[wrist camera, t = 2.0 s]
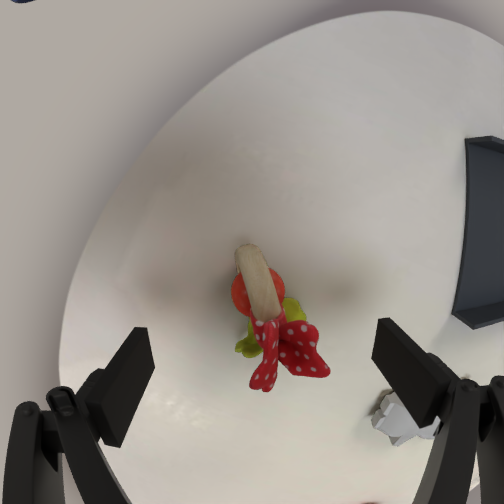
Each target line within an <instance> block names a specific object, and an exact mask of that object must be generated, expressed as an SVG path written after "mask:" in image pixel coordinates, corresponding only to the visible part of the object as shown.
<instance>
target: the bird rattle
mask: <svg viewBox="0 0 504 504" xmlns="http://www.w3.org/2000/svg"><path fill="white" fill-rule="evenodd" d="M235 260H236V266H237V272H238V275H237V276H236V278H235V279H234V281H233V284H232V288H231V295H232V300H233V303H234V305H235V307H236V308H237V309H238V310H239V311H240V312H241V313H242V314H244V315H245V316H248V317H249V319H250V321H249V323H248V336H247V337H246V338H244V339H243V340H241V341H239V342H237V344H236V347H235V352H242V354H243V355H244V357H247V358H253V357H256V356H257V355H259V354H260V353H262V352H263V353H264V354H263V361H262V362H261V364H260V365H259V366H258V368H257V369H256V370H255V372H254V373H253V375H252V377H251V380H250V383H249V387H250V388H251V389H254V390H259V389H261V388H262V391H263V392H269V391H270V390H271V389H272V388H273V386H274V383H275V381H276V378H277V367H278V360H279V361H280V362H281V363H282V364H283V365H284V366H285V367H286V368H287V369H288V370H289V372H290V373H291V374H292V375H297V376H307V377H317V378H323V377H327V376H328V375H329V374H330V368H329V367H328V365H327V364H326V363H325V362H324V360H323V359H322V358H321V356H320V355H319V354H318V353H317V351H316V345H317V343H318V339H319V333H318V330H317V329H316V327H315V326H313V325H311V324H309V323H308V322H306V315H305V313H304V312H303V311H302V310H301V308H300V305H299V302H298V301H297V300H295V299H293V298H284V295H285V287H284V283H283V281H282V279H281V278H280V276H279V275H278V274H277V273H276V272H275V271H274V270H272V269H271V268H268V266H267V263H266V261H265V259H264V257H263V255H262V253H261V251H260V250H259V248H258V247H257V246H255V245H253V244H246V245H243V246H240V247H238V248H237V249H236V251H235Z"/></svg>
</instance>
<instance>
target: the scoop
mask: <svg viewBox="0 0 504 504" xmlns="http://www.w3.org/2000/svg"><path fill="white" fill-rule="evenodd" d="M465 144H466V164H467V200H466V221H465V233H464V244H463V252H462V260H461V267H460V274H459V280H458V286H457V291H456V296H455V301H454V306H453V310H452V315H454V316H455V317H456V318H458V319H459V320H461V321H462V322H463V323H465V324H466V325H468V326H469V327H470V328H472V329H473V330H474V329H478V328H481V327H485V326H488V325H492V324H495V323H498V322H501V321H504V140H502V139H500V138H497V137H494V136H484V137H475V138H467V139H465Z"/></svg>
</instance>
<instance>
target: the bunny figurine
mask: <svg viewBox="0 0 504 504" xmlns="http://www.w3.org/2000/svg"><path fill="white" fill-rule="evenodd" d="M380 407H381V409H378V410H377V411H376V412H375V414H374V416H373V417H372V419H371V422H372V425H373V428H374V429H379V430H380V431H382V432H383V433H385V434H386V435H389V438H390V440H391V443H392V446H397V447H398V446H399V445H401V444H403V443H404V442H406V441H408V440H409V439H411V438H413V437H415V436H419V437H421V438H423V439H435V436H433V434H434V432H435V430H436V428H437V426H438V424H439V422H440V419H439V417H438V416H436V418H435V420H434V422H433V424H432V425H430V426H427V427H424V428H421V429H419V427H418V426H417V424H416V423H415V421H414V420H413V418H412V417H411V415H410V414H409V412H408V411H407V409H406V408H405V406H404V405H403V403H402V402H401V400H400V399H399V397H398V396H397V395H396V393H395V392H393V393H392V394H391V395H386V396H385V398H384V399H383V401H382V403H381V404H380Z"/></svg>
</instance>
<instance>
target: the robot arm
mask: <svg viewBox="0 0 504 504" xmlns="http://www.w3.org/2000/svg"><path fill="white" fill-rule="evenodd" d="M371 359H372V360H373V361H374V363H375V364H376V366H377V367H378V369H379V370H380V371H381V373H382V374H383V376H384V377H385V379H386V380H387V381H388V383H389V384H390V386H391V387H392V389H393V390H394V392H395V393H396V395H397V396H398V397H399V399H400V400H401V402H402V403H403V405H404V406H405V408H406V409H407V411H408V412H409V414H410V415H411V417H412V418H413V420H414V421H415V423H416V424H417V426H418V427H419V429H421V428H424V427H427V426H430V425H432V424H433V422H434V420H435V418H436V416H438V417H439V419H440V422H439V424H438V426H437V428H436V430H435V432H434V434H433V436H435V439H434V442H433V446H432V449H431V453H430V456H429V459H428V463H427V466H426V469H425V472H424V474H423V477H422V480H421V483H420V486H419V488H418V491H417V493H416V496H415V498H414V501H413V503H412V504H466V501H467V497H468V493H469V488H470V484H471V479H472V473H473V468H474V462H475V455H476V452H477V459H478V467H479V477H480V488H481V504H504V376H499V375H498V376H494V377H493V378H492V380H491V382H490V384H489V385H486V386H479V385H478V384H477V383H476V382H475V381H473V380H470V379H462V380H461V379H460V378H459V377H458V376H457V375H456V374H455V373H454V372H453V371H452V370H451V369H450V368H449V367H447V365H446V364H445V363H443V361H442V360H441V359H440V358H439V357H438V356H436V355H434V354H432V353H426V352H425V351H424V350H423V349H422V348H421V347H420V346H418V345H417V344H416V343H415V342H414V341H413V340H412V339H411V338H410V337H409V336H408V335H407V334H406V333H405V332H404V331H403V330H402V329H401V328H400V327H399V326H398V325H397V324H396V323H395V322H394V321H393V320H392V319H391V318H390V317H389V318H381V319H378V324H377V330H376V336H375V342H374V347H373V352H372V357H371ZM154 369H155V365H154V361H153V356H152V351H151V346H150V341H149V336H148V330H147V328H144V327H134V329H133V330H132V331H131V333H130V334H129V336H128V337H127V338H126V340H125V341H124V343H123V344H122V345H121V347H120V348H119V350H118V351H117V352H116V354H115V355H114V357H113V358H112V359H111V361H110V362H109V364H108V365H107V367H106V368H105V369H99V368H98V369H97V370H95V371H94V372H92V373H91V374H90V375H89V377H88V378H87V379H86V381H85V382H84V383H83V386H81V388H80V389H79V390H78V392H77V393H76V394H74V392H73V390H72V389H71V388H69V387H65V386H60V387H56V388H53V389H52V390H50V391H49V392H48V393H47V395H46V400H47V402H48V404H49V406H50V408H51V410H52V411H42V410H40V408H39V406H38V405H37V403H35V402H31V401H27V402H23V403H21V404H20V405H18V406H17V408H16V410H15V414H14V418H13V422H12V427H11V432H10V437H9V443H8V449H7V457H6V463H5V473H4V482H3V483H4V484H3V499H2V504H65V497H64V485H63V469H62V453H65V456H66V459H67V462H68V464H69V467H70V470H71V472H72V475H73V478H74V480H75V483H76V485H77V488H78V490H79V492H80V494H81V496H82V499H83V501H84V503H85V504H132V503H131V501H130V500H129V498H128V497H127V495H126V493H125V492H124V490H123V489H122V487H121V485H120V483H119V482H118V480H117V478H116V477H115V475H114V473H113V471H112V469H111V467H110V466H109V464H108V462H107V460H106V458H105V456H104V454H103V452H102V450H101V448H100V446H99V444H98V441H99V439H100V437H101V438H102V440H103V442H104V444H105V445H108V446H113V447H118V448H120V447H121V445H122V443H123V440H124V438H125V435H126V433H127V431H128V428H129V426H130V424H131V421H132V419H133V416H134V414H135V412H136V410H137V407H138V405H139V403H140V400H141V398H142V396H143V394H144V391H145V389H146V387H147V385H148V382H149V380H150V378H151V376H152V373H153V371H154Z"/></svg>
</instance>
